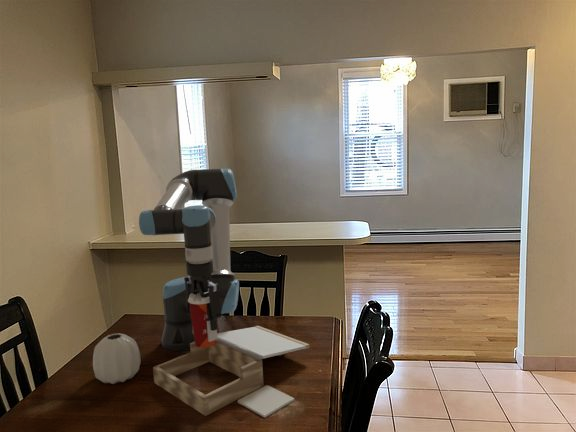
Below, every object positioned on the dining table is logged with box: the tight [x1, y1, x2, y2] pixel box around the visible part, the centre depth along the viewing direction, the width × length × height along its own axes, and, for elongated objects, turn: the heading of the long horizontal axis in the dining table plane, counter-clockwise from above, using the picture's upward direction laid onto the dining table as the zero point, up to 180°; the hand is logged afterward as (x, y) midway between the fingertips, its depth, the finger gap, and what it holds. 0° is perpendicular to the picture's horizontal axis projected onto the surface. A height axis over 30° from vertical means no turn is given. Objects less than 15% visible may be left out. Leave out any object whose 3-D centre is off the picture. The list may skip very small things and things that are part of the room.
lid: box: [216, 325, 310, 361], centre depth 151 cm, size 26×22×5 cm
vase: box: [92, 332, 142, 385], centre depth 143 cm, size 14×14×13 cm
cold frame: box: [152, 342, 264, 417], centre depth 137 cm, size 26×20×8 cm
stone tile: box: [237, 385, 295, 419], centre depth 127 cm, size 11×11×1 cm
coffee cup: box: [188, 292, 216, 348], centre depth 135 cm, size 8×8×15 cm
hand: (205, 336), depth 136 cm, fingers closed on coffee cup, 7 cm apart
